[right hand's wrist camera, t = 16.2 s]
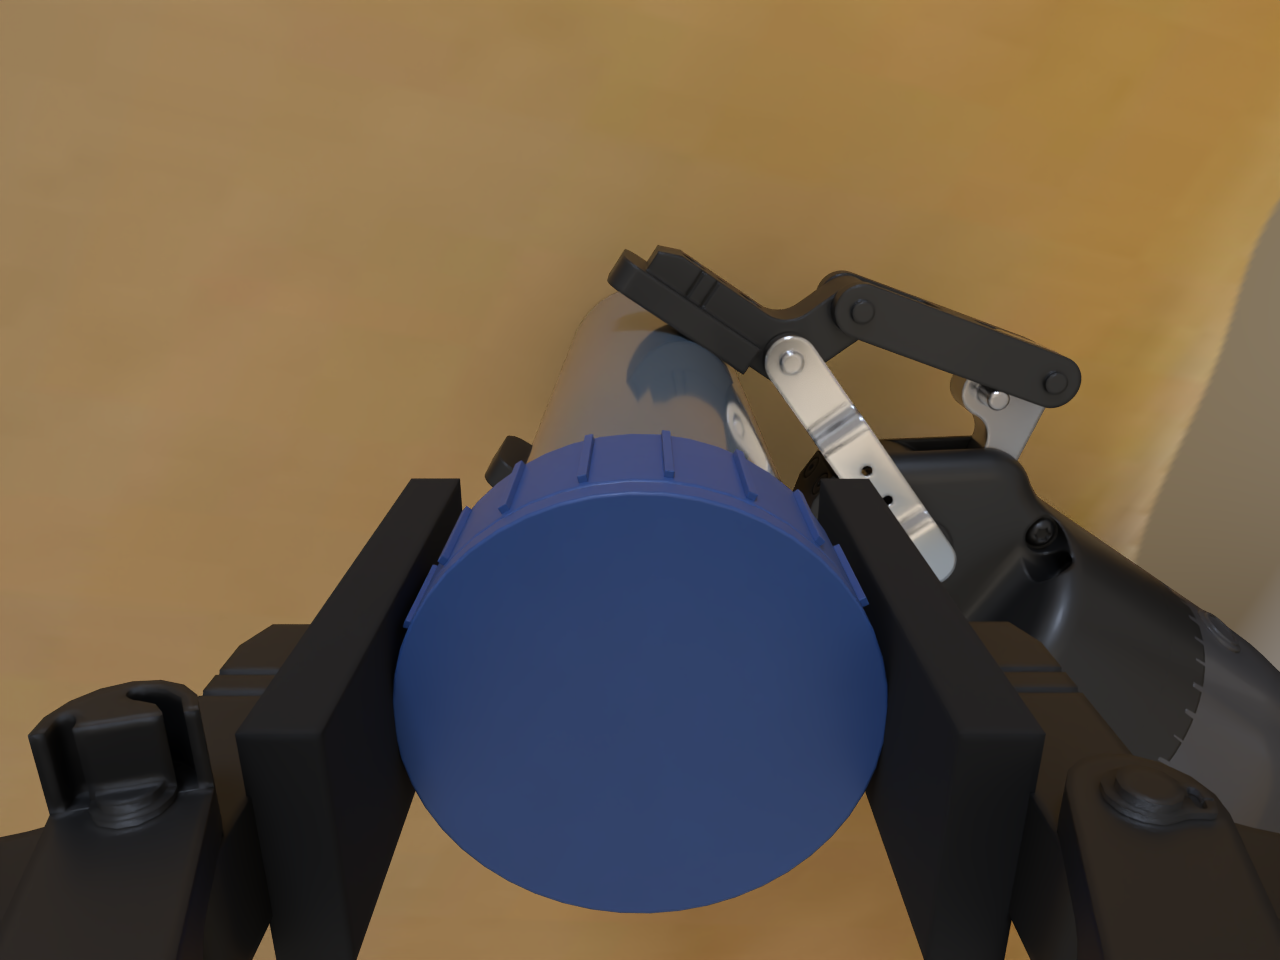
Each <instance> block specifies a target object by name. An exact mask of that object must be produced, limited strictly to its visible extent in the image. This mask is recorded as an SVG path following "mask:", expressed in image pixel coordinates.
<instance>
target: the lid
mask: <svg viewBox="0 0 1280 960" xmlns="http://www.w3.org/2000/svg"><path fill="white" fill-rule="evenodd" d="M438 562H439V564H438V566H437V565H432V567H431V569H430V571H429V573H428V575H427V577H426V579H425V581H424V583H423V585H422V587H421V589H420V591H419V593H418V595H417V597H416V599H415V601H414V603H413V605H412V607H411V609H410V611H409V613H408V615H407V617H406V619H405V622H404V625H403V627H404V628H407V629H408V630H407V632H406V635H405V637H404V640H403V642H402V645H401V647H400V652H399V656H398V660H397V665H396V669H395V673H394V684H393V709H394V718H395V728H396V736H397V742H398V747H399V751H400V755H401V759H402V761H403V764H404V766H405V769H406V771H407V774H408V776H409V779H410V781H411V784H412V785H413V787H414V789H415V790H416V792H417V794H418V796H419V797H420V799H421V801H422V803H423V804H424V806H425V808H426V809H427V810H428V812H429V813H430V814H431V815H432V817H433V818H434V819H435V821H436V822H437V823H438V825H439V826H440V827H441V828H442V830H443V831H444V832H445V833H446V834H447V835H448V836H449V837H450V838H451V839H452V840H453V841H454V842H455V843H456V844H457V845H458V846H459V847H460V848H461V849H463V850H464V851H465V852H466V853H468V854H469V855H470V856H472V857H473V858H474V859H475V860H477V861H478V862H479V863H481V864H482V865H483V866H484V867H486V868H488V869H489V870H491V871H493V872H494V873H496V874H498V875H499V876H501V877H503V878H504V879H506V880H507V881H509V882H511V883H514V884H516V885H518V886H520V887H522V888H524V889H526V890H529V891H531V892H533V893H535V894H538V895H541V896H544V897H547V898H550V899H553V900H556V901H559V902H562V903H566V904H570V905H575V906H579V907H583V908H588V909H594V910H602V911H610V912H618V913H659V912H671V911H681V910H686V909H691V908H697V907H702V906H707V905H711V904H714V903H718V902H721V901H724V900H728V899H731V898H735V897H737V896H740V895H742V894H745V893H747V892H749V891H752V890H754V889H757V888H759V887H761V886H763V885H765V884H767V883H769V882H771V881H772V880H774V879H776V878H778V877H780V876H782V875H783V874H785V873H787V872H789V871H790V870H791V869H793V868H794V867H796V866H797V865H798V864H800V863H801V862H803V861H804V860H805V859H807V858H808V857H810V856H811V855H812V854H813V853H814V852H815V851H816V850H818V849H819V848H820V847H821V846H822V845H823V844H824V843H825V842H826V841H827V840H828V839H830V838H831V837H832V836H833V834H834V833H835V832H836V831H837V830H838V829H839V827H840V826H841V825H842V824H843V823H844V821H845V820H846V819H847V818H848V817H849V816H850V814H851V813H852V811H853V809H854V808H855V806H856V805H857V803H858V802H859V800H860V799H861V797H862V796H863V794H864V792H865V790H866V788H867V786H868V784H869V782H870V779H871V777H872V775H873V773H874V771H875V769H876V766H877V763H878V759H879V756H880V753H881V749H882V746H883V741H884V733H885V724H886V715H887V704H888V684H887V678H886V672H885V667H884V661H883V656H882V653H881V650H880V647H879V644H878V641H877V638H876V635H875V632H874V629H873V627H872V625H871V623H870V621H869V619H868V617H867V615H866V613H865V611H864V609H863V607H864V606H867V605H869V602H868V600H867V598H866V596H865V594H864V592H863V590H862V588H861V586H860V584H859V582H858V580H857V578H856V576H855V574H854V572H853V570H852V568H851V566H850V564H849V562H848V560H847V558H846V556H845V554H844V552H843V550H842V549H841V547H840V545H839V544H837V545H835V546H832V544H831V542H830V540H829V538H828V536H827V534H826V532H825V530H824V529H823V527H822V526H821V525H820V523H819V522H818V520H817V519H816V518H815V516H814V515H813V514H812V512H811V510H810V508H809V506H808V504H807V501H806V499H805V497H804V495H803V493H802V492H801V491H800V490H799V489H797V490H796V491H795V492H792V491H791V490H790V489H789V488H788V487H787V486H785V485H784V484H783V483H782V482H780V481H779V480H778V479H776V478H775V477H774V476H773V475H771V474H770V473H769V472H767V471H765V470H764V469H762V468H760V467H759V466H757V465H755V464H754V463H752V462H750V461H749V460H747V459H746V458H745V455H744V452H742V451H740V450H738V449H736V450H735V452H734V453H731V452H729V451H727V450H724V449H722V448H720V447H717V446H713V445H710V444H706V443H703V442H699V441H695V440H692V439H687V438H680V437H674V436H671V433H670V431H666V430H662V432H661V435H659V434H625V435H615V436H605V437H599V438H594V436H593V434H589V435H585V437H584V441H581V442H577V443H573V444H570V445H567V446H565V447H562V448H559V449H557V450H554V451H551V452H549V453H546V454H544V455H542V456H540V457H538V458H536V459H534V460H532V461H531V462H529V463H527V464H524V462H523V461H522V460H521V461H520V462H518V463H516V464H515V466H514V469H513V471H512V473H511V474H510V475H508V476H507V477H505V478H504V479H503V480H501V481H500V482H498V483H497V484H496V485H495V486H494V487H493V488H492V489H491V490H490V491H489V492H488V493H487V494H485V495H484V496H483V497H482V498H481V499H480V500H479V501H478V502H477V503H476V504H475V506H474V507H473V508H472V509H470V508H469V507H467V506H466V507H465V508H464V509H463V511H462V512H461V514H460V516H459V518H458V520H457V523H456V525H455V527H454V529H453V531H452V533H451V535H450V537H449V539H448V541H447V543H446V545H445V547H444V549H443V551H442V553H441V555H440V557H439V559H438Z"/></svg>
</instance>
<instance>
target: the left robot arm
mask: <svg viewBox="0 0 1280 960" xmlns="http://www.w3.org/2000/svg"><path fill="white" fill-rule="evenodd" d="M607 281H608V283H609V284H610V285H611V286H612V287H613V288H615V289H616V290H617V291H619V292H620V293H621V294H623V295H624V296H626V297H627V298H629V299H630V300H632V301H633V302H635V303H636V304H638V305H639V306H641V307H642V308H644V309H645V310H647V311H648V312H650V313H651V314H653V315H654V316H656V317H657V318H659V319H660V320H662V321H663V322H665V323H666V324H668V325H669V326H671V327H672V328H674V329H675V330H677V331H678V332H680V333H681V334H683V335H684V336H686V337H687V338H689V339H690V340H692V341H693V342H695V343H696V344H698V345H700V346H702V347H703V348H705V349H707V350H708V351H710V352H711V353H712V354H714V355H715V356H716V357H718V358H719V359H721V360H722V361H724V362H725V363H727V364H728V365H730V366H731V367H733V368H734V369H736V370H737V371H739V372H740V373H742V374H744V373H745V372H746V370H747V369H748V367H751V368H752V369H754V370H755V371H757V372H758V373H760V374H761V375H763V376H764V377H766V378H767V379H769V380H770V381H772V383H773V384H774V385H775V387H776V388H777V390H778V391H779V392H780V394H781V395H782V397H783V398H784V400H785V401H786V402H787V404H788V405H789V407H790V408H791V409H792V411H793V412H794V414H795V415H796V416H797V418H798V419H799V421H800V422H801V423H802V425H803V426H804V428H805V429H806V431H807V432H808V433H809V435H810V436H811V438H812V439H813V441H814V442H815V444H816V445H817V447H818V448H819V450H820V451H821V452H820V451H819V450H818V451H817V452H816V453H815V454H814V456H813V457H812V458H811V460H810V461H809V462H808V464H807V465H806V466H805V468H804V469H803V470H802V471H801V473H800V475H799V477H798V480H797V482H796V484H795V487H794V489H793V492H795V491H796V490H797V489H799V490H800V491H801V492H802V493H803V495H804V497H805V499H806V501H807V504H808V506H809V508H810V510H811V512H812V514H813V515H814V516H815V518H816V519H817V520H818V509H819V495H820V482H821V479H870V481H871V482H872V484H873V485H874V487H875V488H876V489H877V491H878V492H879V494H880V495H881V497H882V498H883V499H884V501H885V502H886V504H887V505H888V507H889V508H890V510H891V511H892V512H893V514H894V515H895V517H896V518H897V520H898V521H899V523H900V524H901V525H902V527H903V528H904V530H905V531H906V533H907V534H908V536H909V537H910V538H911V540H912V541H913V543H914V544H915V546H916V547H917V549H918V550H919V551H920V553H921V554H922V556H923V557H924V559H925V560H926V562H927V563H928V564H929V566H930V567H931V569H932V570H933V572H934V573H935V575H936V576H937V577H938V579H939V580H940V582H941V583H942V585H943V586H944V587H945V589H946V590H947V592H948V593H949V595H950V596H951V598H952V599H953V600H954V602H955V603H956V605H957V606H958V608H959V609H960V611H961V612H962V613H963V615H964V616H965V618H966V619H967V621H968V622H1010V623H1011V624H1013V625H1015V626H1016V627H1018V628H1019V629H1021V630H1022V631H1024V632H1026V633H1027V634H1029V635H1030V636H1032V637H1034V638H1035V639H1037V640H1038V641H1040V642H1042V644H1043V645H1044V646H1045V647H1046V649H1047V650H1048V651H1049V652H1050V653H1051V655H1052V656H1053V657H1054V658H1055V660H1056V661H1057V662H1058V663H1059V665H1060V666H1061V667H1062V669H1061V670H1062V672H1066V673H1067V674H1068V676H1069V677H1070V678H1071V679H1072V681H1073V682H1074V683H1075V684H1076V685H1077V687H1078V692H1079V693H1083V694H1084V695H1085V697H1086V698H1087V699H1088V700H1089V701H1090V703H1091V704H1092V705H1093V706H1094V708H1095V709H1096V710H1097V711H1098V713H1099V714H1100V715H1101V716H1102V717H1103V719H1104V720H1105V721H1106V722H1107V724H1108V725H1109V726H1110V727H1111V729H1112V730H1113V731H1114V732H1115V733H1116V735H1117V736H1118V737H1119V738H1120V740H1121V741H1122V742H1123V743H1124V745H1125V746H1126V747H1127V748H1128V749H1129V751H1130V752H1131V753H1132V754H1133V755H1134V756H1138V757H1142V758H1145V759H1149V760H1153V761H1157V762H1161V763H1163V764H1165V765H1168V766H1170V767H1172V768H1174V769H1176V770H1178V771H1180V772H1183V773H1185V774H1187V775H1189V776H1191V777H1193V778H1194V779H1195V780H1197V781H1198V782H1199V783H1201V784H1202V785H1203V786H1205V787H1206V788H1207V789H1209V790H1210V791H1212V792H1213V793H1214V794H1215V795H1216V796H1217V797H1218V798H1219V800H1220V801H1221V802H1222V804H1223V805H1224V806H1225V808H1226V809H1227V810H1228V812H1229V813H1230V814H1231V817H1232V819H1233V821H1234V823H1238V824H1241V825H1245V826H1249V827H1252V828H1257V829H1262V830H1266V831H1271V832H1276V833H1280V672H1279V671H1278V670H1277V669H1276V668H1275V667H1274V666H1273V665H1272V664H1271V663H1270V662H1269V661H1268V660H1267V659H1266V658H1265V657H1264V656H1263V655H1262V654H1261V653H1260V652H1258V651H1257V650H1256V649H1255V648H1254V647H1253V646H1252V645H1251V644H1250V643H1248V642H1247V641H1246V640H1244V639H1243V638H1242V637H1240V636H1239V635H1238V634H1236V633H1235V632H1234V631H1232V630H1231V629H1230V628H1228V627H1227V626H1226V625H1225V624H1224V623H1223V622H1222V621H1221V620H1219V619H1218V618H1217V617H1216V616H1214V615H1213V614H1211V613H1208V612H1206V611H1204V610H1202V609H1200V608H1199V607H1198V606H1196V605H1195V604H1193V603H1192V602H1190V601H1189V600H1187V599H1186V598H1184V597H1183V596H1181V595H1180V594H1178V593H1177V592H1175V591H1174V590H1172V589H1171V588H1169V587H1168V586H1166V585H1165V584H1164V583H1162V582H1161V581H1159V580H1158V579H1156V578H1155V577H1154V576H1152V575H1151V574H1149V573H1148V572H1146V571H1145V570H1143V569H1142V568H1141V567H1139V566H1138V565H1136V564H1134V563H1133V562H1132V561H1130V560H1129V559H1127V558H1126V557H1124V556H1123V555H1121V554H1120V553H1118V552H1117V551H1115V550H1114V549H1113V548H1111V547H1110V546H1108V545H1107V544H1105V543H1104V542H1102V541H1101V540H1099V539H1098V538H1097V537H1095V536H1094V535H1092V534H1091V533H1089V532H1088V531H1086V530H1085V529H1083V528H1082V527H1080V526H1079V525H1078V524H1076V523H1075V522H1073V521H1072V520H1070V519H1069V518H1067V517H1066V516H1064V515H1063V514H1062V513H1060V512H1059V511H1057V510H1056V509H1054V508H1053V507H1051V506H1050V505H1048V504H1047V503H1045V502H1044V501H1043V500H1041V499H1040V498H1038V497H1037V495H1036V494H1035V492H1034V490H1033V489H1032V487H1031V484H1030V482H1029V479H1028V476H1027V474H1026V472H1025V470H1024V468H1023V467H1022V465H1021V464H1020V463H1019V462H1018V461H1017V460H1018V458H1019V456H1020V455H1021V453H1022V451H1023V449H1024V447H1025V445H1026V443H1027V441H1028V439H1029V438H1030V436H1031V434H1032V432H1033V430H1034V428H1035V426H1036V424H1037V422H1038V420H1039V419H1040V417H1041V415H1042V413H1043V411H1044V409H1045V408H1055V407H1059V406H1062V405H1064V404H1066V403H1067V402H1069V401H1070V400H1071V399H1072V398H1073V397H1074V396H1075V395H1076V393H1077V392H1078V390H1079V387H1080V384H1081V372H1080V370H1079V367H1078V366H1077V364H1076V363H1075V362H1074V361H1072V360H1071V359H1069V358H1067V357H1065V356H1063V355H1060V354H1058V353H1057V352H1055V351H1053V350H1050V349H1048V348H1046V347H1044V346H1042V345H1040V344H1038V343H1036V342H1034V341H1032V340H1030V339H1027V338H1025V337H1023V336H1020V335H1017V334H1015V333H1012V332H1009V331H1007V330H1004V329H1001V328H999V327H996V326H993V325H991V324H988V323H985V322H983V321H980V320H977V319H975V318H972V317H969V316H967V315H964V314H961V313H959V312H956V311H953V310H951V309H948V308H945V307H943V306H940V305H937V304H934V303H932V302H929V301H926V300H924V299H921V298H918V297H916V296H913V295H910V294H908V293H905V292H902V291H900V290H897V289H894V288H892V287H889V286H886V285H884V284H881V283H878V282H876V281H873V280H870V279H868V278H865V277H862V276H860V275H857V274H854V273H851V272H848V271H836V272H832V273H830V274H829V275H827V276H826V277H825V278H824V279H822V281H821V282H820V284H819V286H818V288H817V290H816V291H814V292H813V293H812V294H810V295H809V296H807V297H806V298H805V299H803V300H802V301H800V302H799V303H798V304H796V305H794V306H792V307H790V308H787V309H782V310H773V309H768V308H766V307H763V306H762V305H760V304H758V303H757V302H756V301H754V300H753V299H751V298H750V297H748V296H747V295H745V294H744V293H742V292H741V291H739V290H738V289H737V288H735V287H734V286H732V285H731V284H729V283H728V282H726V281H725V280H723V279H722V278H720V277H719V276H718V275H716V274H714V273H713V272H712V271H710V270H709V269H707V268H706V267H704V266H703V265H701V264H700V263H699V262H697V261H696V260H694V259H693V258H691V257H690V256H688V255H687V254H685V253H684V252H683V251H681V250H678V249H674V248H669V247H664V246H659V245H658V246H657V247H656V249H655V250H654V252H653V253H652V255H651V257H650V258H649V260H648V261H647V262H646V261H645V260H643V259H642V258H640V257H639V256H637V255H636V254H634V253H632V252H631V251H629V250H627V249H625V250H624V252H623V253H622V255H621V256H620V258H619V259H618V261H617V263H616V264H615V266H614V267H613V269H612V270H611V272H610V274H609V276H608V280H607ZM857 340H861V341H863V342H866V343H869V344H872V345H874V346H877V347H880V348H883V349H885V350H888V351H891V352H893V353H896V354H899V355H902V356H904V357H907V358H910V359H913V360H915V361H918V362H921V363H924V364H926V365H929V366H932V367H935V368H937V369H940V370H943V371H946V372H948V373H951V374H953V375H952V378H951V382H950V391H951V394H952V396H953V398H954V399H955V400H956V401H957V402H958V403H959V404H960V405H962V406H963V407H964V408H965V409H967V410H968V411H969V412H971V413H972V415H973V417H974V421H975V428H974V432H973V435H972V436H948V437H924V438H900V439H877V437H876V436H875V434H874V433H873V431H872V430H871V428H870V427H869V425H868V424H867V423H866V421H865V420H864V418H863V417H862V416H861V414H860V413H859V411H858V410H857V409H856V407H855V406H854V405H853V403H852V402H851V400H850V399H849V397H848V396H847V394H846V393H845V391H844V390H843V389H842V387H841V386H840V384H839V383H838V381H837V380H836V378H835V377H834V375H833V374H832V372H831V371H830V370H829V368H828V367H827V365H826V364H825V362H827V361H828V360H830V359H831V358H833V357H834V356H835V355H837V354H838V353H840V352H841V351H843V350H844V349H846V348H847V347H848V346H850V345H851V344H853V343H854V342H856V341H857ZM531 446H532V445H531V444H529V443H527V442H526V441H524V440H522V439H520V438H518V437H515V436H507V437H506V439H505V440H504V442H503V444H502V445H501V447H500V448H499V450H498V451H497V453H496V455H495V456H494V458H493V460H492V462H491V464H490V466H489V468H488V470H487V472H486V474H485V478H486V480H487V482H488V483H489V484H490V485H491V486H492V487H494V486H495V485H496V484H497V483H498V482H500V481H501V480H503V479H504V478H505V477H507V476H508V475H510V474H511V473H512V471H513V469H514V466H515V464H516V463H518V462H520V461H521V460H522V461H523V462H524V464H525V462H526V459H527V457H528V454H529V452H530V449H531Z"/></svg>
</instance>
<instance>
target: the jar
mask: <svg viewBox="0 0 1280 960" xmlns="http://www.w3.org/2000/svg"><path fill="white" fill-rule="evenodd" d="M662 430H666V431H670V433H671V436H674V437H680V438H687V439H692V440H695V441H699V442H703V443H706V444H710V445H713V446H717V447H720V448H722V449H724V450H727V451H729V452H731V453H734V452H735V450H736V449H738V450H740V451H742V452H744V455H745V458H746V459H747V460H749V461H750V462H752V463H754V464H755V465H757V466H759V467H760V468H762V469H764V470H765V471H767V472H769V473H770V474H771V475H773V476H774V477H775V478H776V479H778V480H779V481H780V482H781V480H780V478H779V475H778V473H777V470H776V468H775V466H774V463H773V461H772V458H771V456H770V453H769V451H768V449H767V446H766V444H765V441H764V439H763V436H762V434H761V432H760V429H759V427H758V424H757V422H756V420H755V417H754V415H753V412H752V410H751V407H750V405H749V403H748V400H747V398H746V395H745V393H744V391H743V388H742V386H741V383H740V381H739V378H738V376H737V374H736V371H735V369H734V368H733V367H731V366H730V365H728V364H727V363H725V362H724V361H722V360H721V359H719V358H718V357H716V356H715V355H714V354H712V353H711V352H710V351H708V350H707V349H705V348H703V347H702V346H700V345H698V344H696V343H695V342H693V341H692V340H690V339H689V338H687V337H686V336H684V335H683V334H681V333H680V332H678V331H677V330H675V329H674V328H672V327H671V326H669V325H668V324H666V323H665V322H663V321H662V320H660V319H659V318H657V317H656V316H654V315H653V314H651V313H650V312H648V311H647V310H645V309H644V308H642V307H641V306H639V305H638V304H636V303H635V302H633V301H632V300H630V299H629V298H627V297H626V296H624V295H623V294H621V293H620V292H616V293H614V294H612V295H610V296H608V297H607V298H605V299H604V300H602V301H601V302H599V303H598V304H597V305H596V306H595V307H593V309H592V310H591V311H590V312H589V313H588V314H587V315H586V316H585V318H584V319H583V321H582V322H581V324H580V325H579V327H578V329H577V331H576V333H575V336H574V339H573V341H572V344H571V346H570V349H569V351H568V354H567V357H566V359H565V362H564V364H563V367H562V369H561V372H560V374H559V377H558V380H557V382H556V385H555V387H554V390H553V392H552V395H551V398H550V400H549V403H548V405H547V408H546V410H545V413H544V416H543V418H542V421H541V423H540V426H539V428H538V431H537V434H536V436H535V439H534V441H533V444H532V446H531V449H530V452H529V454H528V457H527V459H526V462H525V464H527V463H529V462H531V461H532V460H534V459H536V458H538V457H540V456H542V455H544V454H546V453H549V452H551V451H554V450H557V449H559V448H562V447H565V446H567V445H570V444H573V443H577V442H581V441H584V437H585V435H589V434H593V436H594V438H599V437H605V436H615V435H625V434H659V435H661V432H662Z"/></svg>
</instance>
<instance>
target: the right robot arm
mask: <svg viewBox="0 0 1280 960" xmlns="http://www.w3.org/2000/svg"><path fill="white" fill-rule="evenodd" d="M461 512H462V501H461V487H460V479H411V480H410V482H409V483H408V484H407V486H406V487H405V489H404V490H403V492H402V493H401V495H400V496H399V497H398V499H397V500H396V502H395V503H394V505H393V506H392V508H391V509H390V510H389V512H388V513H387V515H386V516H385V518H384V519H383V521H382V522H381V523H380V525H379V526H378V528H377V529H376V531H375V532H374V534H373V535H372V536H371V538H370V539H369V541H368V542H367V544H366V545H365V547H364V548H363V549H362V551H361V552H360V554H359V555H358V557H357V558H356V559H355V561H354V562H353V564H352V565H351V567H350V568H349V570H348V571H347V572H346V574H345V575H344V577H343V578H342V580H341V581H340V583H339V584H338V585H337V587H336V588H335V590H334V591H333V593H332V594H331V596H330V597H329V598H328V600H327V601H326V603H325V604H324V606H323V607H322V609H321V610H320V611H319V613H318V614H317V616H316V617H315V619H314V620H313V622H312V623H311V624H273V625H271V626H270V627H268V628H266V629H265V630H263V631H262V632H260V633H258V634H257V635H255V636H254V637H252V638H251V639H249V640H247V641H246V642H244V643H243V644H241V645H240V646H239V647H238V648H237V649H236V650H235V652H234V653H233V654H232V655H231V657H230V658H229V659H228V660H227V662H226V663H225V664H224V665H223V667H222V668H221V669H220V674H219V675H215V677H214V678H213V679H212V680H211V681H210V683H209V684H208V685H207V686H206V688H205V689H204V690H203V696H197V694H195V693H194V692H193V691H192V690H190V689H189V688H188V687H186V686H185V685H183V684H178V683H173V682H168V681H163V680H153V681H132V682H128V683H124V684H119V685H115V686H110V687H106V688H102V689H99V690H96V691H94V692H91V693H89V694H86V695H84V696H81V697H79V698H76V699H74V700H71V701H69V702H68V703H66V704H64V705H63V706H61V707H60V708H58V709H57V710H55V711H53V712H52V713H50V714H49V715H47V716H46V717H44V718H43V719H42V720H41V721H40V722H39V724H38V725H37V726H36V727H35V728H34V729H33V730H32V731H31V733H30V734H29V735H28V738H29V742H30V745H31V749H32V753H33V756H34V760H35V763H36V767H37V771H38V774H39V778H40V781H41V785H42V788H43V792H44V796H45V799H46V803H47V806H48V810H49V814H50V816H49V818H48V820H47V823H46V825H45V827H43V828H39V829H35V830H32V831H28V832H23V833H19V834H14V835H9V836H4V837H0V960H252V959H253V957H254V955H255V953H256V951H257V949H258V946H259V944H260V942H261V940H262V938H263V936H264V934H265V932H266V930H267V928H268V926H269V923H270V928H271V933H272V939H273V944H274V949H275V955H276V960H357V957H358V954H359V951H360V948H361V945H362V942H363V940H364V937H365V934H366V931H367V928H368V925H369V922H370V919H371V917H372V914H373V911H374V908H375V905H376V902H377V899H378V897H379V894H380V891H381V888H382V885H383V882H384V879H385V877H386V874H387V871H388V868H389V865H390V862H391V859H392V857H393V854H394V851H395V848H396V845H397V842H398V839H399V837H400V834H401V831H402V828H403V825H404V822H405V819H406V817H407V814H408V811H409V808H410V805H411V802H412V799H413V796H414V794H415V791H416V790H415V789H414V787H413V785H412V784H411V781H410V779H409V776H408V774H407V771H406V769H405V766H404V764H403V761H402V759H401V755H400V751H399V747H398V742H397V736H396V728H395V718H394V709H393V684H394V673H395V669H396V665H397V660H398V656H399V652H400V647H401V645H402V642H403V640H404V637H405V635H406V632H407V630H408V629H407V628H404V627H403V625H404V622H405V619H406V617H407V615H408V613H409V611H410V609H411V607H412V605H413V603H414V601H415V599H416V597H417V595H418V593H419V591H420V589H421V587H422V585H423V583H424V581H425V579H426V577H427V575H428V573H429V571H430V569H431V567H432V565H437V566H438V564H439V562H438V559H439V557H440V555H441V553H442V551H443V549H444V547H445V545H446V543H447V541H448V539H449V537H450V535H451V533H452V531H453V529H454V527H455V525H456V523H457V520H458V518H459V516H460V514H461ZM818 522H819V523H820V525H821V526H822V527H823V529H824V530H825V532H826V534H827V536H828V538H829V540H830V542H831V544H832V546H835V545H837V544H839V545H840V547H841V549H842V550H843V552H844V554H845V556H846V558H847V560H848V562H849V564H850V566H851V568H852V570H853V572H854V574H855V576H856V578H857V580H858V582H859V584H860V586H861V588H862V590H863V592H864V594H865V596H866V598H867V600H868V602H869V605H867V606H864V607H863V609H864V611H865V613H866V615H867V617H868V619H869V621H870V623H871V625H872V627H873V629H874V632H875V635H876V638H877V641H878V644H879V647H880V650H881V653H882V656H883V661H884V667H885V672H886V678H887V684H888V704H887V715H886V724H885V733H884V741H883V746H882V749H881V753H880V756H879V759H878V763H877V766H876V769H875V771H874V773H873V775H872V777H871V779H870V782H869V784H868V786H867V788H866V790H865V792H866V795H867V798H868V801H869V803H870V806H871V809H872V812H873V815H874V818H875V821H876V823H877V826H878V829H879V832H880V835H881V838H882V841H883V844H884V846H885V849H886V852H887V855H888V858H889V861H890V864H891V866H892V869H893V872H894V875H895V878H896V881H897V884H898V886H899V889H900V892H901V895H902V898H903V901H904V904H905V906H906V909H907V912H908V915H909V918H910V921H911V924H912V926H913V929H914V932H915V935H916V938H917V941H918V944H919V946H920V949H921V952H922V955H923V958H924V960H1004V958H1005V953H1006V947H1007V942H1008V936H1009V931H1010V926H1011V920H1012V922H1013V924H1014V926H1015V928H1016V930H1017V932H1018V934H1019V936H1020V939H1021V941H1022V943H1023V945H1024V947H1025V949H1026V951H1027V953H1028V955H1029V957H1030V960H1280V833H1276V832H1271V831H1266V830H1262V829H1257V828H1252V827H1249V826H1245V825H1241V824H1238V823H1234V821H1233V819H1232V817H1231V814H1230V813H1229V812H1228V810H1227V809H1226V808H1225V806H1224V805H1223V804H1222V802H1221V801H1220V800H1219V798H1218V797H1217V796H1216V795H1215V794H1214V793H1213V792H1212V791H1210V790H1209V789H1207V788H1206V787H1205V786H1203V785H1202V784H1201V783H1199V782H1198V781H1197V780H1195V779H1194V778H1193V777H1191V776H1189V775H1187V774H1185V773H1183V772H1180V771H1178V770H1176V769H1174V768H1172V767H1170V766H1168V765H1165V764H1163V763H1161V762H1157V761H1153V760H1149V759H1145V758H1142V757H1138V756H1134V755H1133V754H1132V753H1131V752H1130V751H1129V749H1128V748H1127V747H1126V746H1125V745H1124V743H1123V742H1122V741H1121V740H1120V738H1119V737H1118V736H1117V735H1116V733H1115V732H1114V731H1113V730H1112V729H1111V727H1110V726H1109V725H1108V724H1107V722H1106V721H1105V720H1104V719H1103V717H1102V716H1101V715H1100V714H1099V713H1098V711H1097V710H1096V709H1095V708H1094V706H1093V705H1092V704H1091V703H1090V701H1089V700H1088V699H1087V698H1086V697H1085V695H1084V694H1083V693H1079V692H1078V687H1077V685H1076V684H1075V683H1074V682H1073V681H1072V679H1071V678H1070V677H1069V676H1068V674H1067V673H1066V672H1062V670H1061V669H1062V667H1061V666H1060V665H1059V663H1058V662H1057V661H1056V660H1055V658H1054V657H1053V656H1052V655H1051V653H1050V652H1049V651H1048V650H1047V649H1046V647H1045V646H1044V645H1043V644H1042V642H1040V641H1038V640H1037V639H1035V638H1034V637H1032V636H1030V635H1029V634H1027V633H1026V632H1024V631H1022V630H1021V629H1019V628H1018V627H1016V626H1015V625H1013V624H1011V623H1010V622H968V621H967V619H966V618H965V616H964V615H963V613H962V612H961V611H960V609H959V608H958V606H957V605H956V603H955V602H954V600H953V599H952V598H951V596H950V595H949V593H948V592H947V590H946V589H945V587H944V586H943V585H942V583H941V582H940V580H939V579H938V577H937V576H936V575H935V573H934V572H933V570H932V569H931V567H930V566H929V564H928V563H927V562H926V560H925V559H924V557H923V556H922V554H921V553H920V551H919V550H918V549H917V547H916V546H915V544H914V543H913V541H912V540H911V538H910V537H909V536H908V534H907V533H906V531H905V530H904V528H903V527H902V525H901V524H900V523H899V521H898V520H897V518H896V517H895V515H894V514H893V512H892V511H891V510H890V508H889V507H888V505H887V504H886V502H885V501H884V499H883V498H882V497H881V495H880V494H879V492H878V491H877V489H876V488H875V487H874V485H873V484H872V482H871V481H870V479H821V482H820V495H819V509H818Z"/></svg>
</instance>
